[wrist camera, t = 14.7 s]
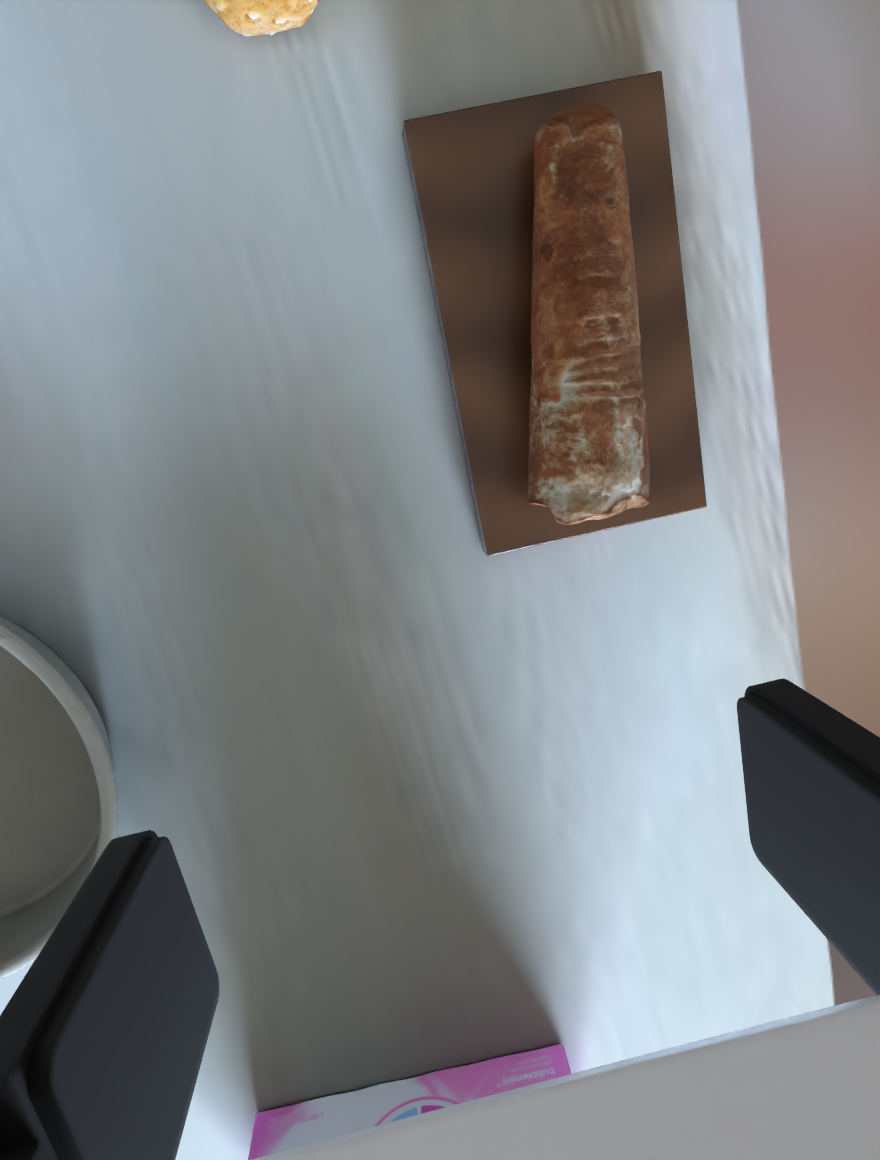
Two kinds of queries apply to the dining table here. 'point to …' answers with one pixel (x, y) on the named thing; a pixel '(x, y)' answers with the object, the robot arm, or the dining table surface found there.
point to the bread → (584, 325)
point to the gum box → (400, 1099)
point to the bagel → (262, 14)
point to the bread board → (503, 298)
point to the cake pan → (47, 793)
